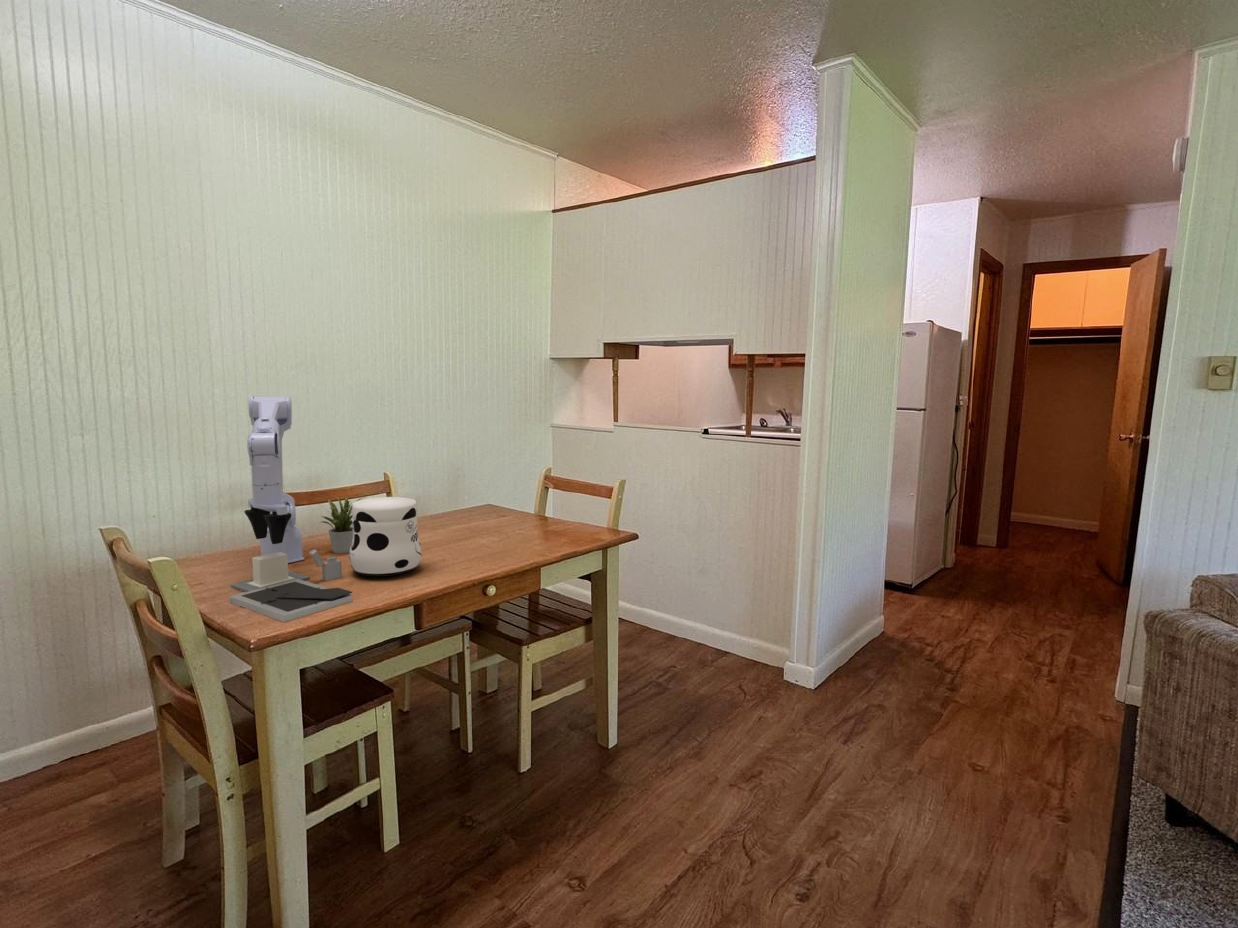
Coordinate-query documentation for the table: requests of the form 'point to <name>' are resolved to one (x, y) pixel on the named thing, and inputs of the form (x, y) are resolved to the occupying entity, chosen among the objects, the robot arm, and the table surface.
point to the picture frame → (292, 599)
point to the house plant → (341, 527)
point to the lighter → (327, 566)
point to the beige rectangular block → (270, 568)
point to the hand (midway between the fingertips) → (269, 540)
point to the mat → (253, 586)
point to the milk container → (384, 536)
